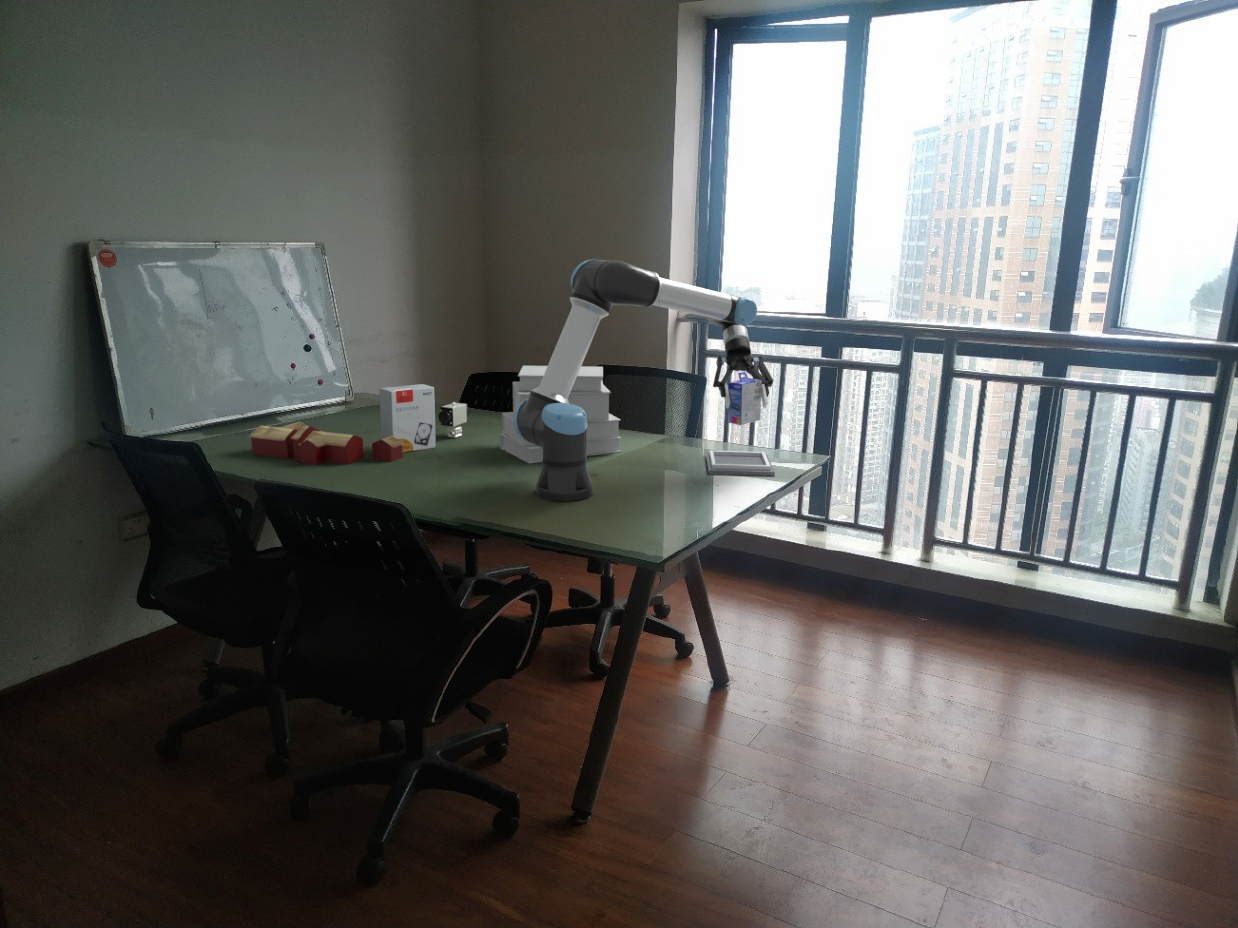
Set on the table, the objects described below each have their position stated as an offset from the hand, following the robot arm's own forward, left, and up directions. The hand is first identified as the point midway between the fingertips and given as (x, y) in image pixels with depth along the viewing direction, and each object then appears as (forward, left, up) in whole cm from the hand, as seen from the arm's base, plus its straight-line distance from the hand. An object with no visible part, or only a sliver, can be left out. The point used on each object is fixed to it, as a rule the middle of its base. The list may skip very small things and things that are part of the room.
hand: (746, 405), depth 250 cm
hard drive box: (-105, +15, -20) cm, 108 cm away
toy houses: (-126, +4, -20) cm, 128 cm away
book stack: (-57, +20, -20) cm, 63 cm away
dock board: (-1, +7, -20) cm, 21 cm away
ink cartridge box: (0, +3, -6) cm, 6 cm away
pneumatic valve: (-95, +34, -20) cm, 103 cm away
